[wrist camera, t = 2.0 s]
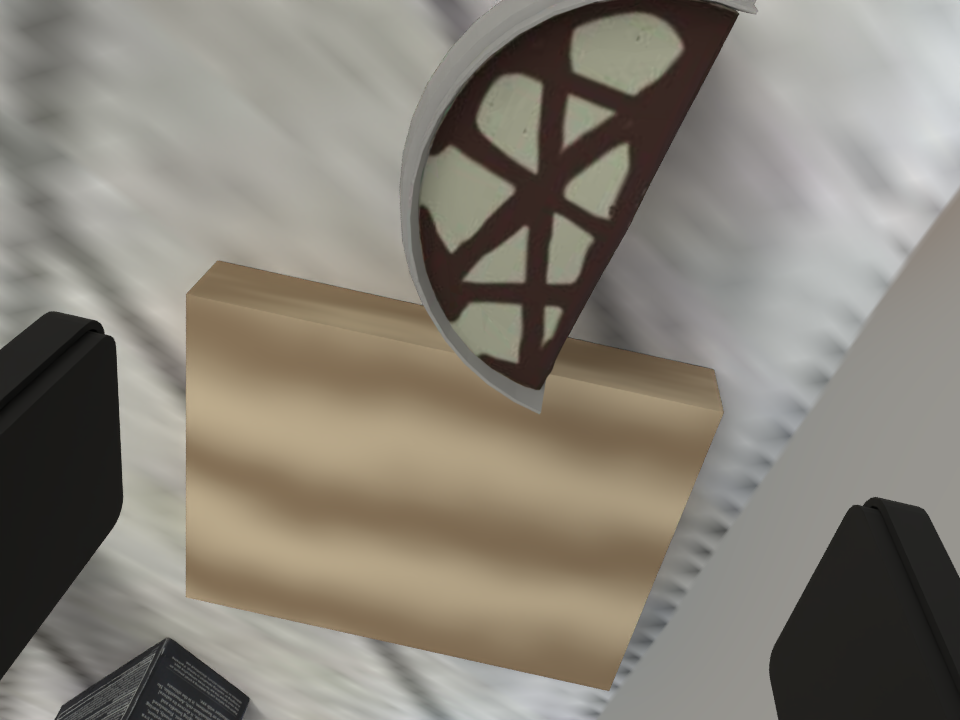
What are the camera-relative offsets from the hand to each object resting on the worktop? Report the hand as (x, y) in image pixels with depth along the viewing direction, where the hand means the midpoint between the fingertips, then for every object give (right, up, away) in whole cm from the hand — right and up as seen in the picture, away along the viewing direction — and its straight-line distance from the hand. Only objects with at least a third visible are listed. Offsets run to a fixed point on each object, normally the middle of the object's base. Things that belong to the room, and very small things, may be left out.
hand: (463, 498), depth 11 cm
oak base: (-2, -3, +27) cm, 27 cm away
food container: (+2, +11, +18) cm, 21 cm away
